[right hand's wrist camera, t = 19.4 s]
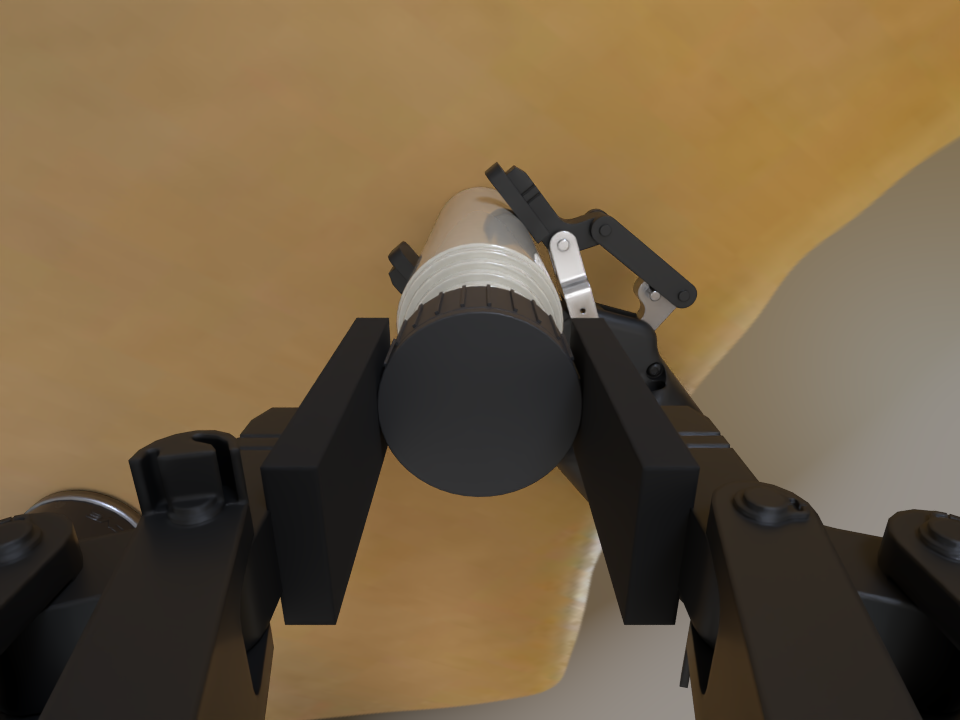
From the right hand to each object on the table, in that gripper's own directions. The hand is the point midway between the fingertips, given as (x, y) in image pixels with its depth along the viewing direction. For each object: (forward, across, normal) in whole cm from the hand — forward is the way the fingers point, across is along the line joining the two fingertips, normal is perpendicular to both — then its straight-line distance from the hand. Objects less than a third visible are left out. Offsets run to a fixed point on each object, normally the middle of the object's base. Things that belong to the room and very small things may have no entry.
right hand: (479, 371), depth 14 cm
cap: (-2, 0, 0) cm, 2 cm away
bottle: (+20, 0, 0) cm, 20 cm away
